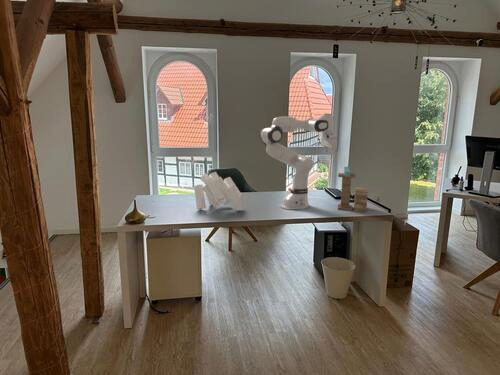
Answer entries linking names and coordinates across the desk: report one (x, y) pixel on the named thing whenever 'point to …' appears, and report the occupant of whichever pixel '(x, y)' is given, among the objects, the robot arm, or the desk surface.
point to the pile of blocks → (217, 191)
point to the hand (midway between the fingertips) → (329, 152)
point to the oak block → (360, 199)
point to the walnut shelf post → (345, 192)
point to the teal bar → (346, 172)
